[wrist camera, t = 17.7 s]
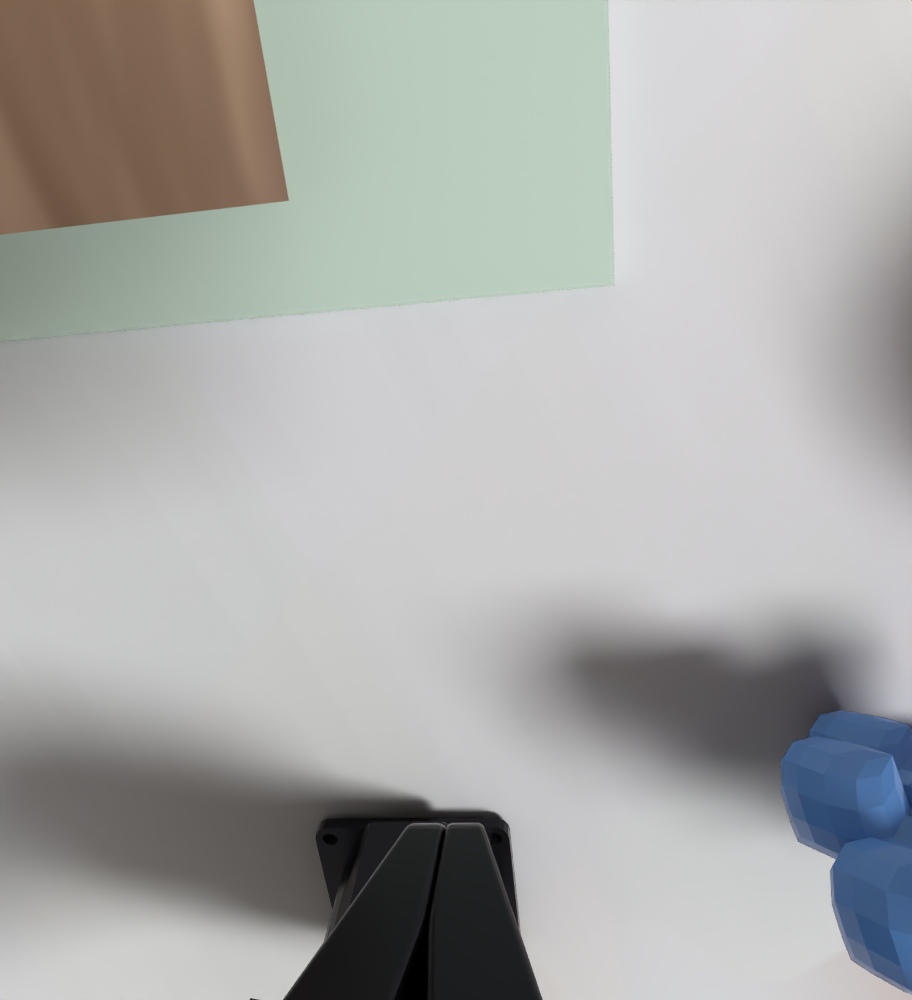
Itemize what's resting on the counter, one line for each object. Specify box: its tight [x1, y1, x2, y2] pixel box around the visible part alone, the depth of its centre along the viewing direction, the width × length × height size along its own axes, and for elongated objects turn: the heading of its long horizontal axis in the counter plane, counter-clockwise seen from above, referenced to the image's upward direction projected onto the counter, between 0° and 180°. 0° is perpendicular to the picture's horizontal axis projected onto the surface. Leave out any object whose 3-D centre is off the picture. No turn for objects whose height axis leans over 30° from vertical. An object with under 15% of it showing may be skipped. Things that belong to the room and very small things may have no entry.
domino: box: [0, 0, 289, 235], centre depth 15 cm, size 2×5×10 cm
